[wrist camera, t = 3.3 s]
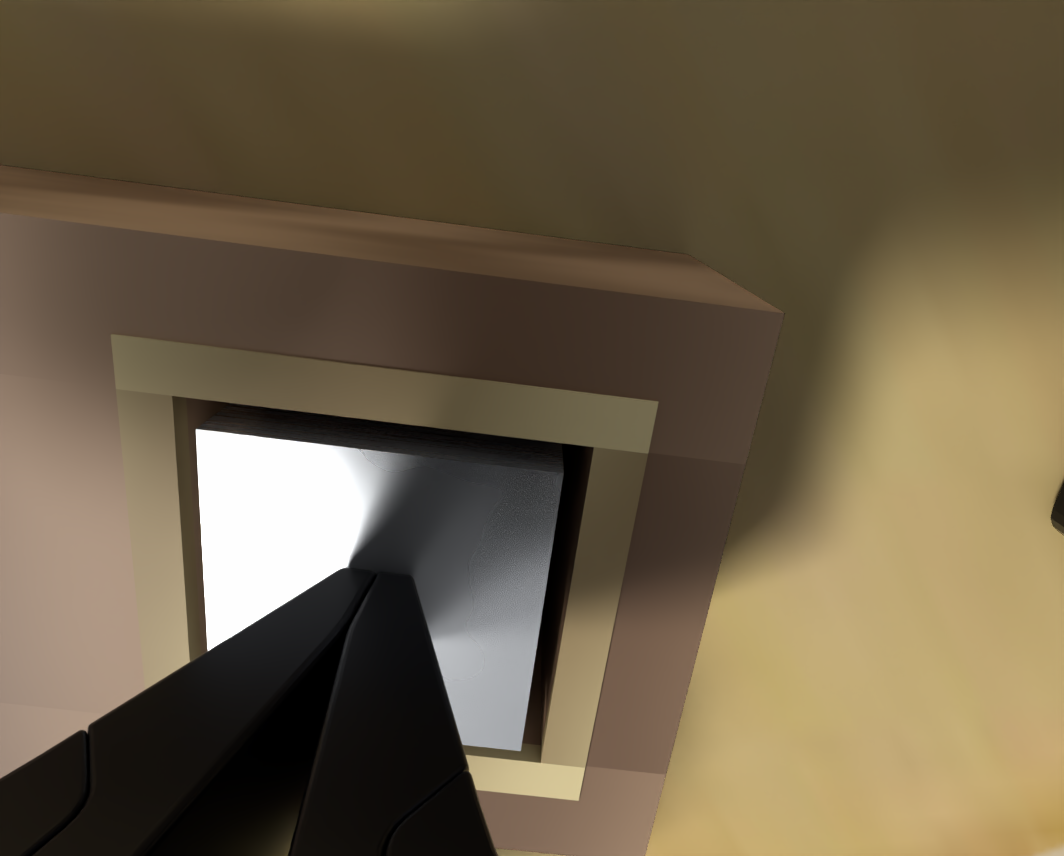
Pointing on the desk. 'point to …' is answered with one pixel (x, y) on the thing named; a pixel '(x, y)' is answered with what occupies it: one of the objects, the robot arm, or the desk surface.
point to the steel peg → (388, 537)
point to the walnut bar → (374, 394)
